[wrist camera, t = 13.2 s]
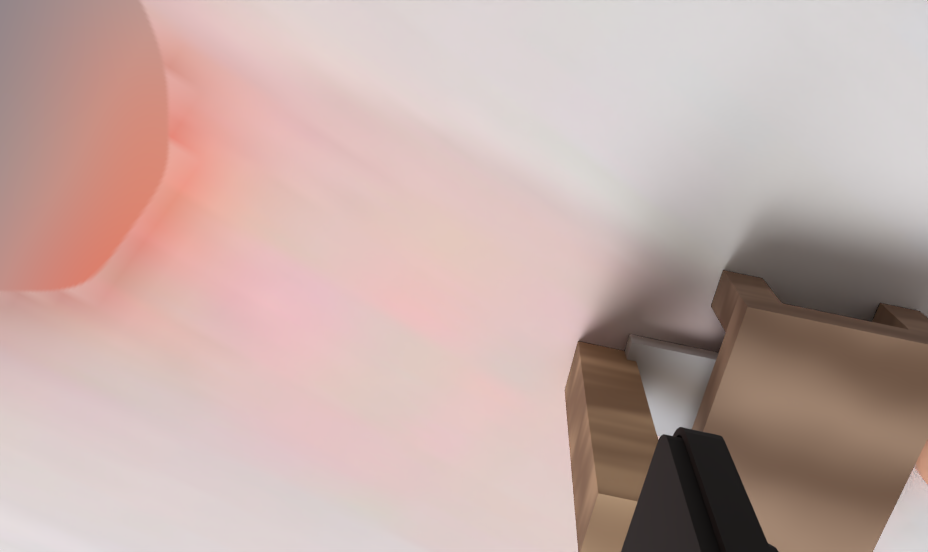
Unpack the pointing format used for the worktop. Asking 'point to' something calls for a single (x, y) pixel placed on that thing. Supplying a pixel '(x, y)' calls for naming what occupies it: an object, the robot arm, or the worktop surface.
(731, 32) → the worktop surface
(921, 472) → the terracotta puck
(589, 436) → the blade tool
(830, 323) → the wooden bench
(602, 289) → the worktop surface
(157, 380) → the worktop surface
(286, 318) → the worktop surface
